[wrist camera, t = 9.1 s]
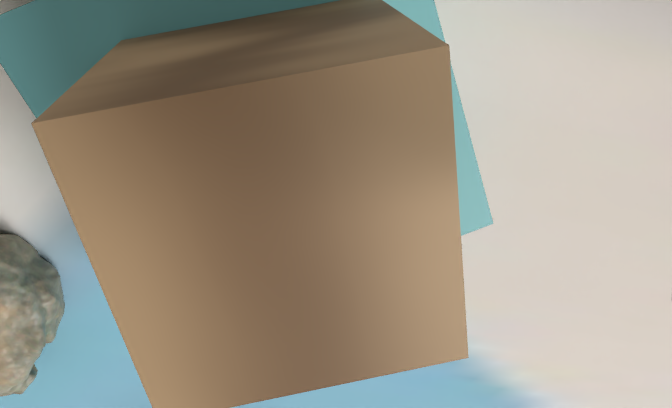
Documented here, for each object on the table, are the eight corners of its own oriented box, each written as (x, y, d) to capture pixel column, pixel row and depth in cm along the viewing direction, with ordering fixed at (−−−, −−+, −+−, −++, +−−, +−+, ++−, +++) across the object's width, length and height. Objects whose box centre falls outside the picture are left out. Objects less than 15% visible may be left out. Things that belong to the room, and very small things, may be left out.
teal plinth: (363, -136, 16) (394, -150, 12) (451, 169, 20) (493, 223, 17) (35, 0, 16) (-25, 25, 13) (195, 268, 21) (183, 341, 17)
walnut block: (373, -6, 14) (449, 45, 8) (399, 213, 16) (468, 357, 11) (121, 40, 13) (31, 123, 8) (190, 254, 16) (158, 422, 11)
